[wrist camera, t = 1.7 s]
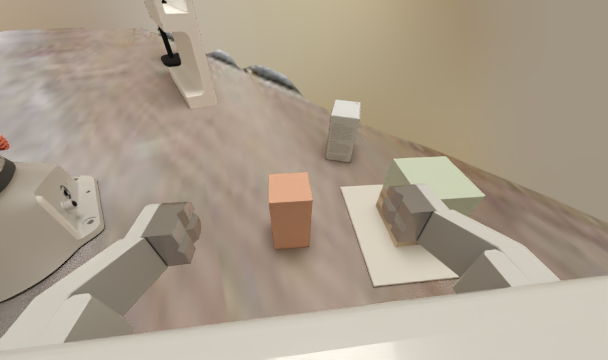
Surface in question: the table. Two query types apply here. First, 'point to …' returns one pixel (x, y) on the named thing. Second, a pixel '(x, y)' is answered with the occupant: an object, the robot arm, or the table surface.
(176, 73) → the white stand
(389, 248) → the felt pad
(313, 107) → the table surface
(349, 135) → the small box
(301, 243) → the terracotta block
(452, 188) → the sage slab
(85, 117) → the table surface
